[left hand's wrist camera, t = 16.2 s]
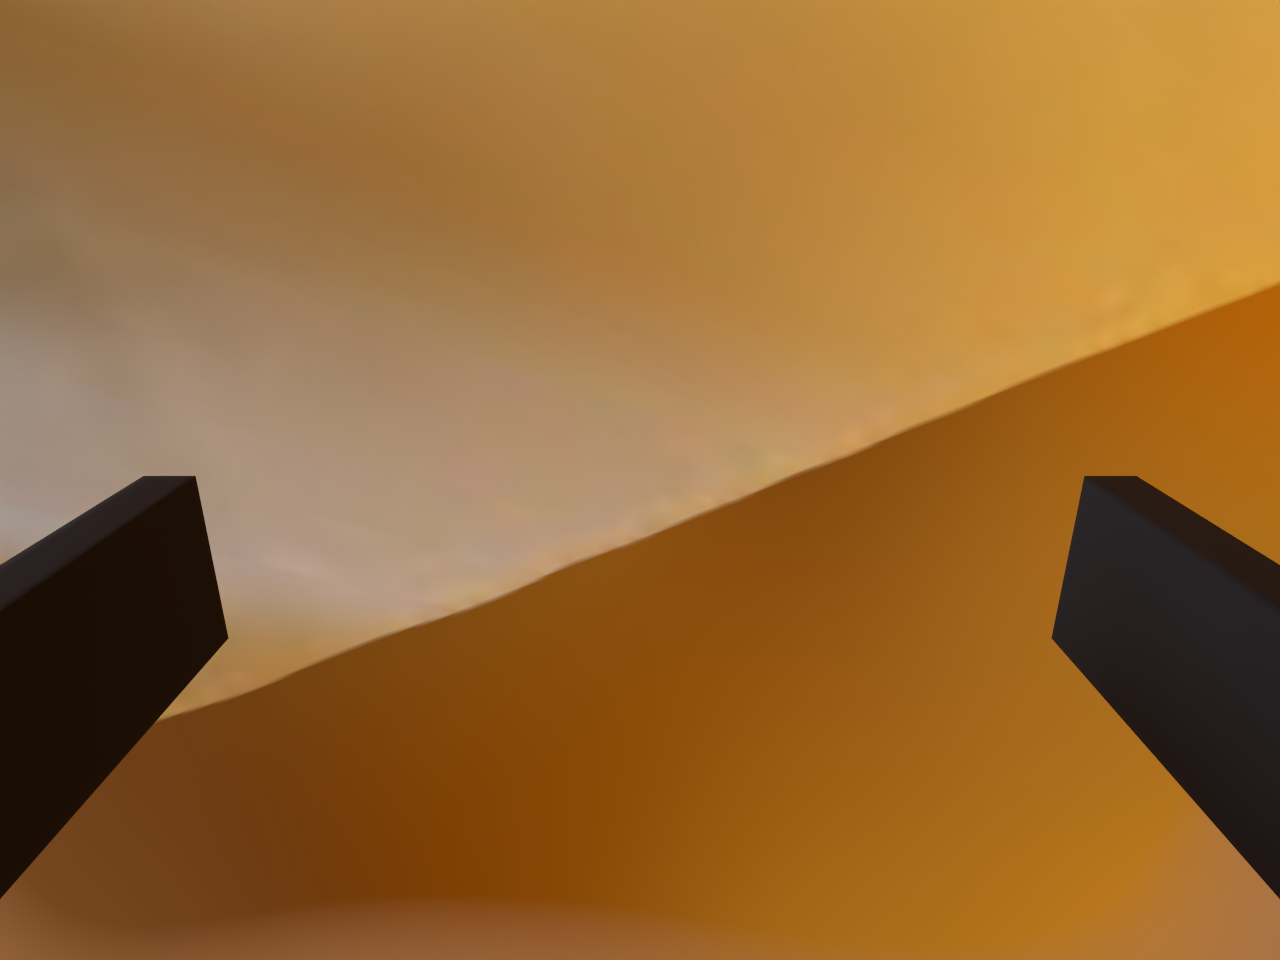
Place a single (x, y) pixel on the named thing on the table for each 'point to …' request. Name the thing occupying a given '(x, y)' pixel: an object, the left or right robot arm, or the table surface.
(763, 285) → the table surface
